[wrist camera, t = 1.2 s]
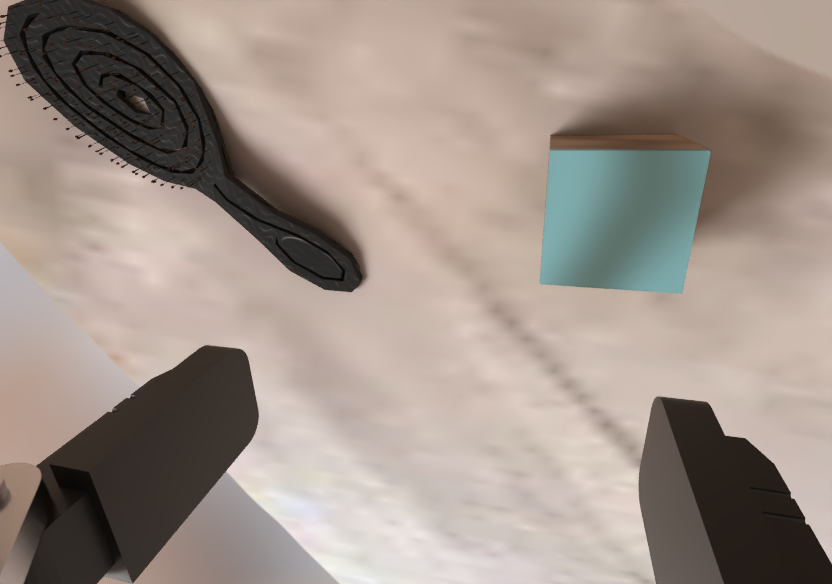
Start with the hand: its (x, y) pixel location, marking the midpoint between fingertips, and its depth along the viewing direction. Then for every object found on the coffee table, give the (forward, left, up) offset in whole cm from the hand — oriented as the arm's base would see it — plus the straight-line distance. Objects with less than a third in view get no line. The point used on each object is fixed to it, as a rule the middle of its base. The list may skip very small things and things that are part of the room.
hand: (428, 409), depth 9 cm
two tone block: (+5, 0, -20) cm, 21 cm away
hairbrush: (-19, +2, -21) cm, 28 cm away
